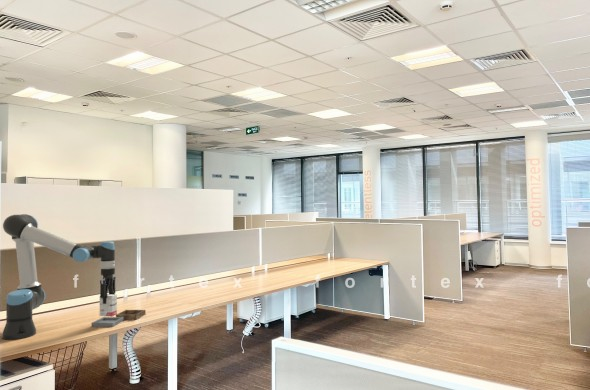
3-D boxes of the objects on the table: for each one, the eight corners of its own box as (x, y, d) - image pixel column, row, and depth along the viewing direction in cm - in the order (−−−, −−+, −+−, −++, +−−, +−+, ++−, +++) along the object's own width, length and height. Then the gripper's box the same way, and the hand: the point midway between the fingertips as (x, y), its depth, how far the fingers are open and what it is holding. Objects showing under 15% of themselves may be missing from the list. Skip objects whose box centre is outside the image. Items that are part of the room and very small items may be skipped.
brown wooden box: (115, 319, 254) (115, 314, 254) (125, 314, 267) (125, 309, 267) (136, 319, 253) (136, 314, 253) (145, 314, 266) (145, 309, 266)
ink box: (117, 314, 247) (117, 294, 248) (111, 316, 243) (111, 296, 243) (105, 313, 250) (104, 293, 250) (99, 316, 245) (98, 295, 245)
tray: (91, 326, 240) (91, 322, 240) (103, 320, 253) (103, 317, 253) (113, 326, 239) (113, 322, 239) (123, 320, 252) (123, 317, 252)
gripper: (105, 270, 237) (106, 311, 237) (121, 265, 256) (122, 304, 255) (93, 270, 238) (93, 311, 237) (109, 265, 256) (110, 304, 256)
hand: (108, 307), depth 246 cm, fingers closed on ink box, 5 cm apart
